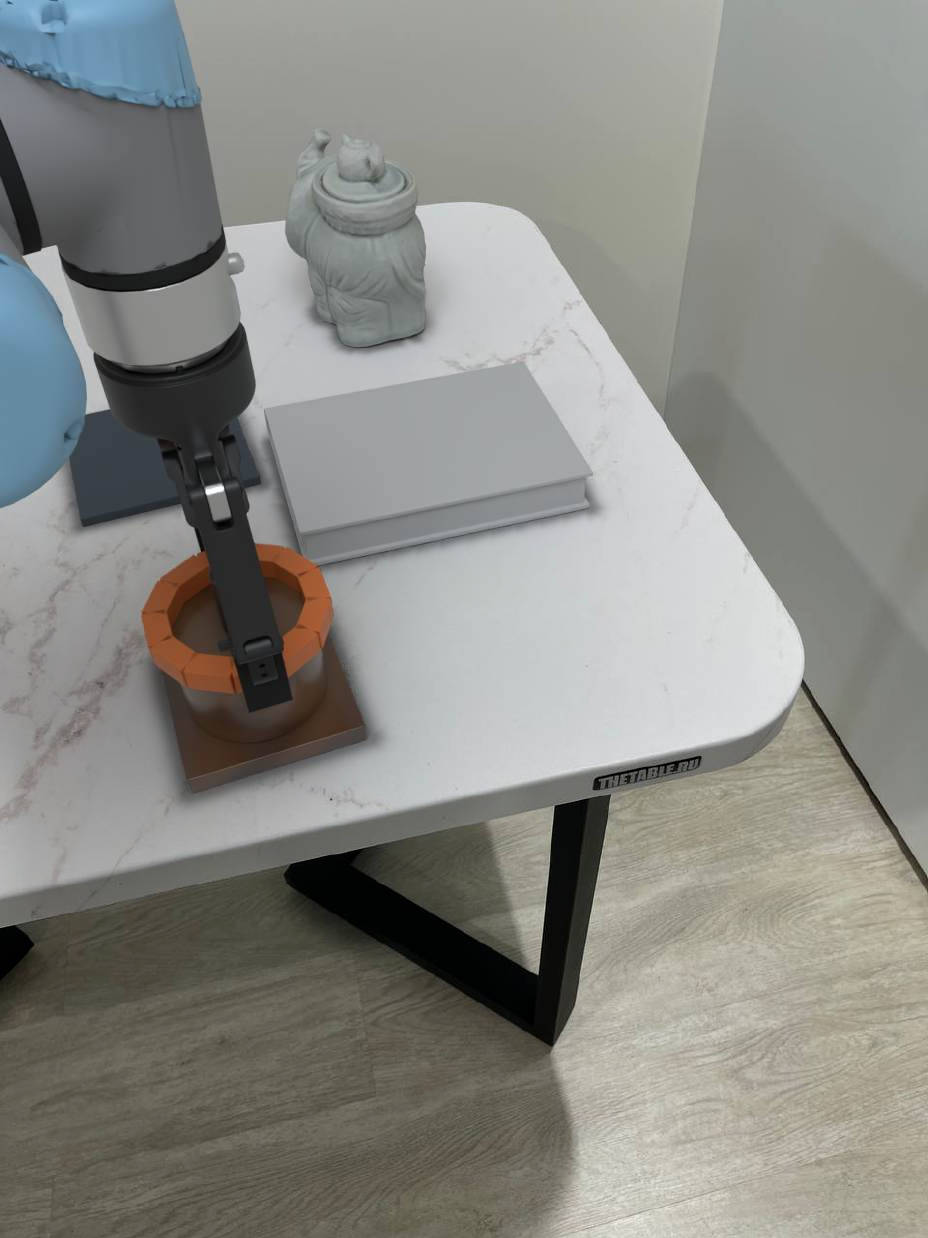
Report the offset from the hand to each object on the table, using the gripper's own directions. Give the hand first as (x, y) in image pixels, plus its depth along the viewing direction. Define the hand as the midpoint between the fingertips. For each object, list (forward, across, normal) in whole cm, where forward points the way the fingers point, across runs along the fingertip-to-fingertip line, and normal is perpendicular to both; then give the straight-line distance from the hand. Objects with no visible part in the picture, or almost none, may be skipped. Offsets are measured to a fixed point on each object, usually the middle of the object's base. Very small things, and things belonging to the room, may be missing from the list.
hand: (245, 625), depth 66 cm
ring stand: (+8, 0, 0) cm, 8 cm away
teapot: (+8, +48, -22) cm, 53 cm away
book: (+8, +20, -19) cm, 28 cm away
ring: (0, 0, 0) cm, 0 cm away
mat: (+8, +31, +2) cm, 32 cm away
